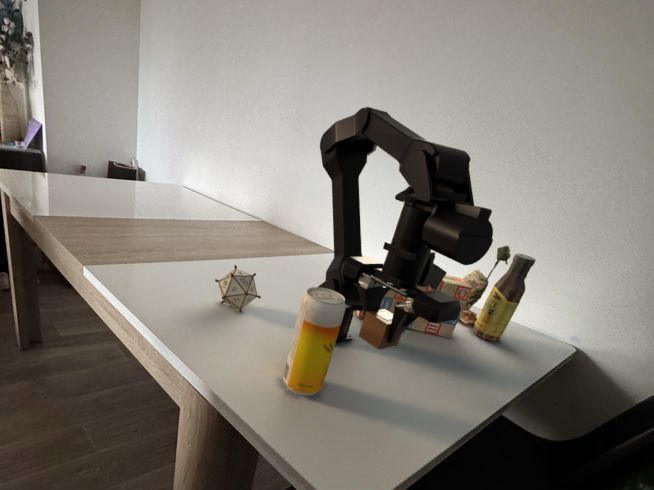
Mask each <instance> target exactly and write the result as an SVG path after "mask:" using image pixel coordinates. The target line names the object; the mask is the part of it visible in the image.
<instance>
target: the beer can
mask: <svg viewBox="0 0 654 490" xmlns="http://www.w3.org/2000/svg"><path fill="white" fill-rule="evenodd" d="M300 300H301V301H300V305H299V308H298V312H297V316H296V317H297V318H296V322H295V326H294V331H293V333H292V338H291V343H290V346H289V351H288V355H287V360H286V363H285V369H284V372H283V377H282V379H283V382H284V383H285V385H286V387H287V388H288V390H289V391H291V392H292V393H294V394H296V395H299V396H303V397H304V396H305V397H308V396H314V395H315V394H317V393H319V392H320V391H321V390H323V387H324V384H325V381H326V378H327V374H328V371H329V367H330V364H331V360H332V357H333V353H334V350H335V347H336V340H337V337H338V333H339V330H340V326H341V323H342V319H343V316H344V313H345V309H346V306H345V298H344V297H343V296H342V295H341V294H340V293H338V292H336V291H333V290H330V289H326V288H321V287H318V286H313V287H308V288H307V289H306V292H305V293H304V294H303V295H302V296H301V299H300Z"/></svg>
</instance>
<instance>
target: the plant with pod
mask: <svg viewBox="0 0 654 490" xmlns="http://www.w3.org/2000/svg"><path fill="white" fill-rule="evenodd" d="M511 256H512V255H511V249H510V246H509V245H504V246H499V247H498V248H497V249H496V258H495V259H496V261H495V263H494V266H493V267H492V269H491V270H490V272H489V273H488V275H487V277H486V276H485V275H484V274H483V273H482V272H481V270H480V269H473V270H470V271H469V272H468V273H467V274H465V276H463V278H462V279H463V280H465V281H466V282H467V283H468V284H469V285H470V286H471V287H472V290H471V293H470V295H469V297H468V299H467V303H466V305H465V308H464V310H463V312H462V314H461V316H460V318H459V320H460V321H462V322H463V324H465V325H468V324H474V325H475V323H476V320H477V318H478V316H477V313H476V312H474V311H472V310H471V308H472V307H473V306H474V305H475V304H477V303H478V302H479V300H481V299H482V296H483V295H484V294H485V292H486V290H487V288H488V286H489V278H490V277H491V275H492V273H493V271H494V270H495V269H496V268H497V266H498V264H499V262H501V261H502V262H504V263H505V265H508V260H509V259H510V258H511Z"/></svg>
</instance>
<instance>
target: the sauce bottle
mask: <svg viewBox="0 0 654 490" xmlns="http://www.w3.org/2000/svg"><path fill="white" fill-rule="evenodd" d="M535 263H536V258H534V257H532V256H529V255H528V254H527V255H526V254H524V253H518V252H517V253H515V254H514V256H513V258H512V262H511V263H510V266H509V267H508V269H507V271H506V272H505V273H504V274H503V275H502V276H501V277H500V278H499V279H498V280H497V281H496V282H495V283H494V285H493V286H492V288H491V290H490V292H489V294H488V295H487V298H486V300H485V302H484V304H483V306H482V308H481V310H480V313H479V314H478V316H477V320H476V323H475V324H474V327H473V328H472V333H474V334H475V335H476V336H477V337H478V338H480V339H483V340H486V341H490V342H498V341H500V339H501V337H502V336H503V334H504V333H505V331H506V329H507V327H508V325H509V323H510V321H511V320H512V318H513V316H514V314H515V312H516V310H517V308H518V306H519V305H520V303H521V300H522V298H523V296H524V294H525V292H526V281H525V280H526V278H527V277H528V274H529V272H530V270H531V268H532V267H533V266H534V265H535Z"/></svg>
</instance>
